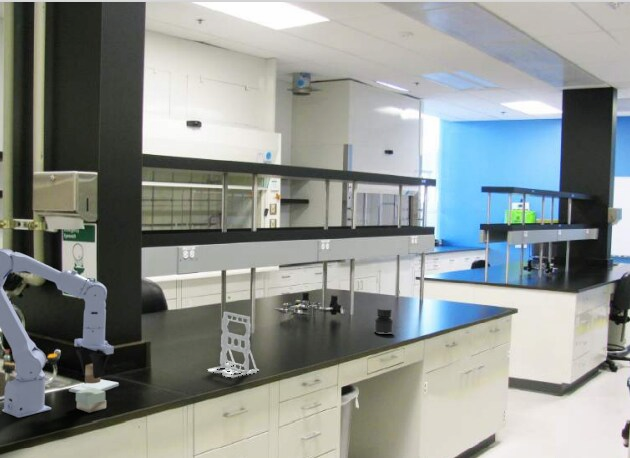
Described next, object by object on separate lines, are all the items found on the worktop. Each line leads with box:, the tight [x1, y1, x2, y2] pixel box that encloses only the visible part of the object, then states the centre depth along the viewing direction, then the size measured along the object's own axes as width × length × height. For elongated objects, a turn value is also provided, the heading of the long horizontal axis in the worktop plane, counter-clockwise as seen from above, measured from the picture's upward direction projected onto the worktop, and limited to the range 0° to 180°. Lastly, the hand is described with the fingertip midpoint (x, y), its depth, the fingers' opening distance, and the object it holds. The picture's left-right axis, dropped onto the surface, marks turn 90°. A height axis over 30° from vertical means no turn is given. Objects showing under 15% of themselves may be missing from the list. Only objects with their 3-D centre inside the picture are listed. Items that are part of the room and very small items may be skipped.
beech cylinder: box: [84, 364, 102, 383], centre depth 174 cm, size 4×4×4 cm
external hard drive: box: [68, 378, 120, 394], centre depth 193 cm, size 2×8×12 cm
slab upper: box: [75, 388, 106, 405], centre depth 174 cm, size 6×6×2 cm
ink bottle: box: [373, 307, 394, 333], centre depth 304 cm, size 10×9×12 cm
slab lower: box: [76, 399, 107, 413], centre depth 174 cm, size 6×6×2 cm
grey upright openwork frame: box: [207, 311, 260, 379], centre depth 220 cm, size 14×14×20 cm
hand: (92, 376), depth 174 cm, fingers closed on beech cylinder, 4 cm apart
